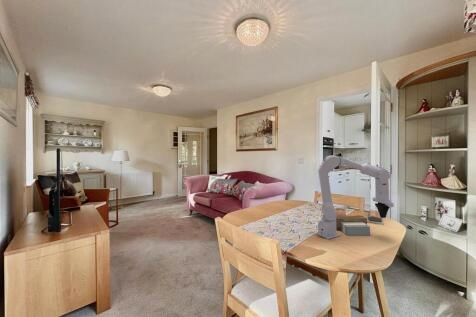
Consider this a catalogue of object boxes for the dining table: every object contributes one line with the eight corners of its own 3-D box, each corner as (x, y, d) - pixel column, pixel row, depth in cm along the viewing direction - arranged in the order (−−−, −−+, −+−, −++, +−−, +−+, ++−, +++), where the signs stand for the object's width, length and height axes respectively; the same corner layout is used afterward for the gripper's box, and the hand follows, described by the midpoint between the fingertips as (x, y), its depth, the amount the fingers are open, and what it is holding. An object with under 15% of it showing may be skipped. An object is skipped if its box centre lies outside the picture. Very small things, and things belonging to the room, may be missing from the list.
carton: (370, 235, 113) (370, 226, 113) (347, 236, 114) (346, 226, 114) (362, 230, 121) (362, 221, 121) (341, 230, 122) (340, 222, 122)
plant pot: (341, 222, 137) (341, 211, 137) (332, 219, 143) (332, 208, 143) (348, 220, 140) (348, 209, 140) (339, 217, 146) (339, 207, 146)
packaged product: (365, 209, 150) (382, 210, 144) (365, 216, 150) (382, 217, 144) (365, 215, 134) (383, 217, 129) (365, 223, 134) (384, 225, 129)
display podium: (367, 230, 121) (367, 218, 121) (335, 230, 122) (335, 218, 122) (362, 227, 126) (362, 215, 126) (332, 227, 128) (331, 216, 127)
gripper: (399, 193, 102) (400, 221, 102) (381, 189, 117) (382, 213, 117) (384, 194, 103) (385, 221, 103) (368, 189, 117) (369, 213, 117)
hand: (383, 217), depth 110 cm, fingers closed
